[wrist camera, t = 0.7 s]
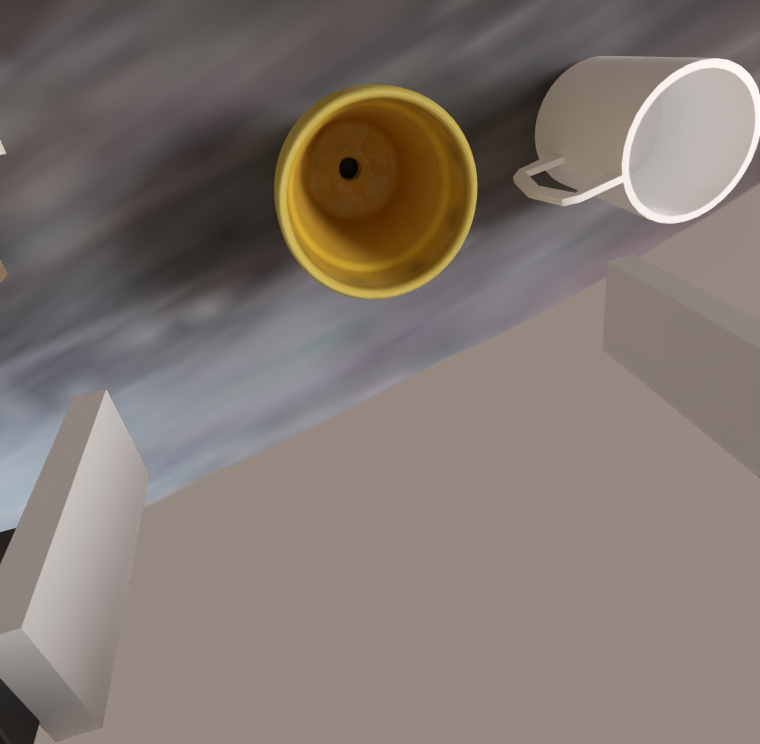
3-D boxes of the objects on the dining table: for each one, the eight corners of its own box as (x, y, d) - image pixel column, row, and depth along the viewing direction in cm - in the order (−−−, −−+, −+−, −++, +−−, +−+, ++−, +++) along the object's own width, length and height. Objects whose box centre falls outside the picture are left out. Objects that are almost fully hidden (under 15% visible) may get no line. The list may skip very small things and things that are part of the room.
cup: (468, 112, 37) (541, 132, 28) (638, 34, 37) (762, 29, 28) (500, 228, 41) (571, 275, 32) (651, 157, 41) (762, 186, 32)
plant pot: (229, 144, 34) (229, 175, 26) (371, 39, 33) (418, 36, 25) (327, 276, 40) (353, 336, 31) (451, 188, 39) (512, 227, 30)
